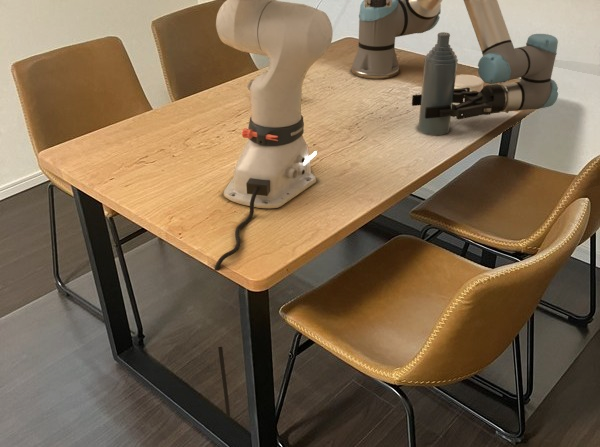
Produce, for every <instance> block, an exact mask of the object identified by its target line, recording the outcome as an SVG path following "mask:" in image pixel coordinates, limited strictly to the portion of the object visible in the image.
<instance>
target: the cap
mask: <svg viewBox="0 0 600 447" xmlns="http://www.w3.org/2000/svg"><path fill="white" fill-rule="evenodd" d="M370 5H371V7H375V8H380V7H385V6H386V0H371V3H370Z"/></svg>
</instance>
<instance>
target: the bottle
mask: <svg viewBox="0 0 600 447" xmlns="http://www.w3.org/2000/svg"><path fill="white" fill-rule="evenodd" d="M450 38H451V34H450V33H449V32H445V31H444V32H443V31H442V32H438V33H437V41H436V44H434V46H433V47H432V48H431V49H430V50H429V51H428V53H427V54H426V55H425V57H424V62H423V73H422V81H421V84H422V85H421V103H420V105H419V114H418V124H417V125H418V127H417V129H418V131H419V132H420V133H422V134H424V135H429V136H443V135H446V134H448V133H449V132H450V127H451V120H452V119H451V118H452V117H451V116H446V117H437V118H427V119H426V118H425V110H426V107H435V106H445V105H450V106H451V108H452V104H454V103H453V96H454V87H455V79H456V75H457V71H458V64H459V61H458V60H459V59H458V56H457V55H456V53H455V51H453V48H452V47H451V45H450Z"/></svg>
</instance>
